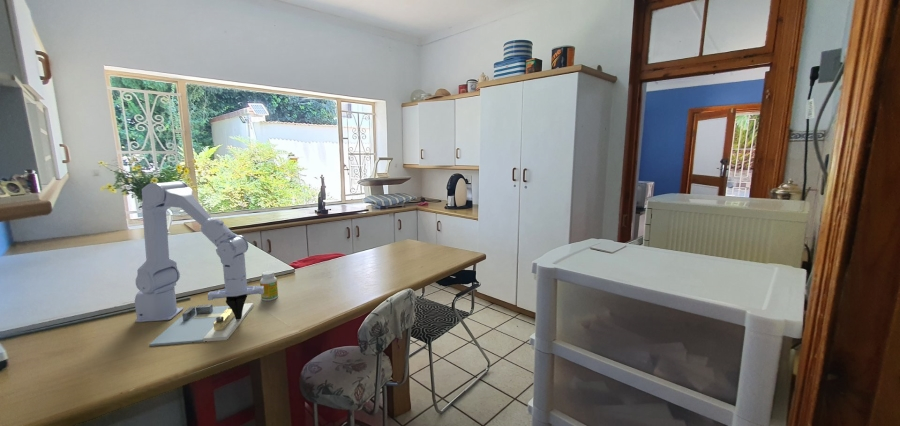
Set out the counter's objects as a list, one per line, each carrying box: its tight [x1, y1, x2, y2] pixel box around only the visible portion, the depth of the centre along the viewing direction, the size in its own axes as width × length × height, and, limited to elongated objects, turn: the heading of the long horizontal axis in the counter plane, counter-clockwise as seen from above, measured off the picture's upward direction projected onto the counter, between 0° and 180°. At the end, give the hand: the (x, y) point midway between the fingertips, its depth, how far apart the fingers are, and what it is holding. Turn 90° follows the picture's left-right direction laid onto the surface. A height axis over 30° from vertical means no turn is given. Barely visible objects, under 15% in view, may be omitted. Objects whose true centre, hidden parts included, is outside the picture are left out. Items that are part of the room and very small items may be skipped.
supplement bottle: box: [259, 270, 279, 302], centre depth 124 cm, size 5×5×10 cm
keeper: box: [181, 303, 214, 321], centre depth 109 cm, size 6×6×2 cm
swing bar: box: [213, 308, 235, 330], centre depth 104 cm, size 10×2×3 cm, turn 12°
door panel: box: [149, 302, 255, 347], centre depth 106 cm, size 19×22×1 cm
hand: (239, 317), depth 107 cm, fingers closed
